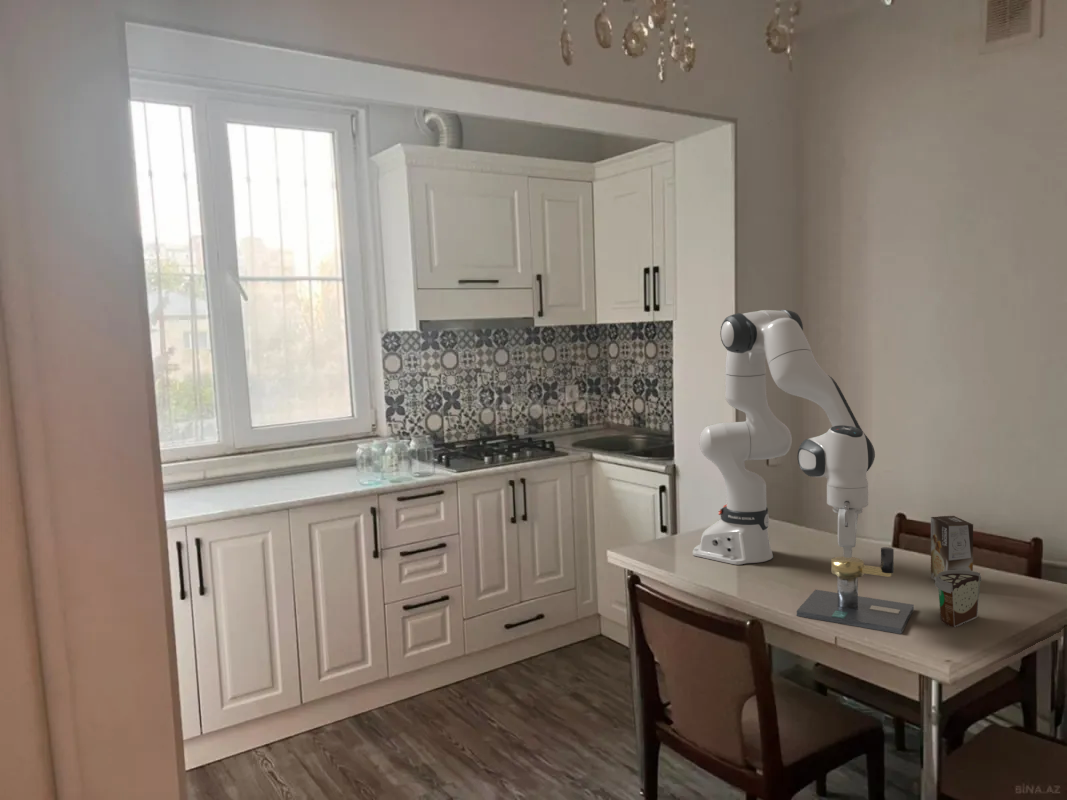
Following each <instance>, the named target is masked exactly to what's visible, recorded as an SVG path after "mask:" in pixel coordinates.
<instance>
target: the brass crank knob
mask: <svg viewBox="0 0 1067 800" xmlns="http://www.w3.org/2000/svg"><path fill="white" fill-rule="evenodd" d="M894 550H895V549H894V548H893V547H887V546H884V547H881V548H880V566H874V565H866V564H865V561H864V560H863V559H861V558H858V557H853V556H852V557H851V558H845V557H844V556H836V557H833V558H831V559H830V560H831V561H830V562H831V565H830V567H831V571H830V572H831V573H832V574H833V575H834V576H836V577H837V576H840V577H846V578H857V577H858V578H861V577H863V576H864V575H872V576H873V575H874V576H880V577H888V578H892V576H893V574H894V570H895V569H894V567H895V565H894V562H895V561H894V560H895V559H894V555H895V553H894Z"/></svg>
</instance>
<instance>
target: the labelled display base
mask: <svg viewBox="0 0 1067 800" xmlns="http://www.w3.org/2000/svg"><path fill="white" fill-rule="evenodd" d="M836 577H837V579H836V580H837V584H836V585H837V589H836V590H837V592H833V591H826V590H820V589H814V591H812V593H811V594H809V596H808V597H807V599H805V600H804V602H803V603H802V604H801V605H800V606H799V608H798V609H797V610H796V616H797V617H800V618H801V617H802V618H808V619H813V620H817V621H824V622H830V623H835V624H840V625H847V626H852V627H858V628H864V629H871V630H875V631H881V632H887V633H892V634H899V635H902V634H903V632H904V630H905V628H906V626H907V624H908V623H909V620H910V618H911V616H912V614H913V612H914V609H915V607H914V606H915V605H914V604H912V603H905V602H898V601H892V600H885V599H879V598H873V597H868V596H860V595H859V577H857V578H846V577H840V576H836Z"/></svg>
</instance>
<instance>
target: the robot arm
mask: <svg viewBox="0 0 1067 800" xmlns="http://www.w3.org/2000/svg"><path fill="white" fill-rule="evenodd" d="M803 325H804V324H803V321H802V319H801V317H800V315H799V314H798V313H797V312H795V311H793V310H789V309H788V310H787V309H779V310H775V309H774V310H773V309H771V310H770V309H764V310H763V309H761V310H758V311H749V312H745V313H742V312H741V313H739V312H738V313H733V314H731V315H729V316H727V317H726V318H724V320H723V321H722V324H721V326H720V334H719V335H720V341H721V343H722V345H723V347H724V348H725V350H726V357H725V367H724V382H725V383H724V384H725V385H724V393H725V394H724V395H725V400H726V402H727V404H728V405H729V406H730V407H731V408H733V409H736V410H738V411H740V412H742V413H744V414H745V420H744V421H735V422H734V421H730V422H727V421H726V422H719V423H715V424H711V425H708V426H707V425H706V426H705V427H704V428H703V429H702V431H701V432H700V435H699V441H698V445H699V449H700V451H701V453H702V454H703V456H704V457H705V459H708V460H709V461H710V462H711V463H713V464H714V465H715V466H716V467H717V468H718V470H719V472H720V473H721V475H722V478H723V482H724V487H725V495H726V496H725V498H726V500H725V501H726V502H725V503H726V504H725V505H723V506H722V508H720V510H719V511H718V515H719V516H720V519H719V520H718V519H717V521H716V522H714V523H713V524H711V525H710V526H708V527H707V528H706V529H705V530H704V531H703V532H702V534H701V538H700V543H699V544H697V545H696V546H695V547H694V548H693V550H692V555H693V556H695V557H698V558H704V559H708V560H713V561H717V562H723V563H726V564H731V565H736V566H737V565H738V566H740V565H743V564H744V565H745V564H756V563H763V562H768V561H770V560H772V559H773V558H774V555H773V550H772V548H771V543H770V540H769V538H770V537H769V529H768V528H769V521H770V519H769V516H770V515H769V508H768V507H767V483H766V481H765V478H763V477H762V476H761V475H759V474H758V473H756V472H754V471H751V470H749V469H747V468H746V464H745V462H746V461H754V460H755V461H756V460H759V461H760V460H771V459H775V458H779V457H784V456H786V455H787V454H788V453H789V451H790V450H791V447H792V444H793V443H792V442H793V438H792V437H793V436H792V433H791V430H790V429H789V427H788V426H787V425H786V424H785V423H784V422H782V421H781V420H780V419H779V418H778V417H776V415H775V414H774V413H773V411H772V409H771V407H770V405H769V402H768V396H767V394H768V393H767V366H768V369H769V373H770V376H771V378H772V380H773V382H774V383H775V385H776V386H777V388H778V389H780V390H782V391H783V392H785V393H786V394H789V395H791V396H794V397H795V396H796V397H800V398H802V399H806V400H808V401H810V402H812V403H815V404H817V405H818V406H819V407H820V408H822V410H823V411H824V413H825V415H826V417H827V418H828V420H829V423H830V425H831V427H830V428H829V429H828V430H827V431H826V432H825V433H822V434H821V435H818V436H813V437H810V438H807V439H804V440H803V441H802V442H801V443H800V445H799V447H798V450H797V464H798V466H799V468H800V470H801V471H802V472H803V473H804V474H805V475H807V476H808V477H810V478H811V477H812V478H826V480H827V481H826V504H827V505H828V506H829V507H832V512H834V513H835V514H837V544H838V547H840V548H842V551H843V552H842V553H843V555H842V556H843V557H845V558H851V557H853V548H855V547H856V545H857V526H858V525H857V524H858V519H859V515H860V514H862V513H863V508H866V507H868V506H869V482H868V478H867V473H868V471H869V470H870V469H871V467H873V464H874V461H875V457H876V452H875V448H874V445H873V443H872V442H871V440H870V439H869V437H868V436H867V434H866V433H865V432H864V431H863V429H862V428H861V426H860V425H859V422H858V420H857V418H856V417H855V415H854V413H853V410H852V409H851V407H850V405H849V403H848V402H847V400H846V398H845V396H844V394H843V392H842V390H841V388H840V386H839V385H838V384H837V382H836V380H835V379H834V378H833V377H832V376H830V375H829V374H827V373H826V372H825V370H823V368H822V367H821V366H820V365H819V363H818V361H817V360H816V357H815V355H814V353H813V351H812V350H813V349H812V347H811V345H810V343H809V340H808V338H807V335H806V334H805V332H804V326H803ZM766 362H767V365H766Z"/></svg>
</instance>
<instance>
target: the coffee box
mask: <svg viewBox="0 0 1067 800" xmlns="http://www.w3.org/2000/svg"><path fill="white" fill-rule="evenodd" d="M973 569H974V523H971V522H968V521H966V520H964V519H962V518H961V517H960V518H959V517H958V516H955V515H940V516H939V515H938V516H931V517H930V578H931V579H932V580H934V582H935V581H936V577H937V576H938V574H939V573H940V572H943V571H948V570H966V571H974V570H973Z"/></svg>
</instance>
